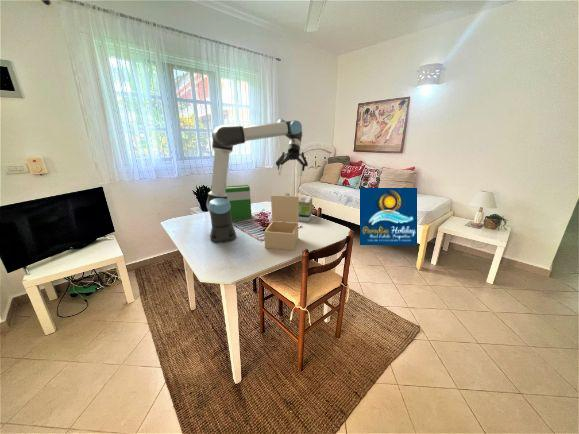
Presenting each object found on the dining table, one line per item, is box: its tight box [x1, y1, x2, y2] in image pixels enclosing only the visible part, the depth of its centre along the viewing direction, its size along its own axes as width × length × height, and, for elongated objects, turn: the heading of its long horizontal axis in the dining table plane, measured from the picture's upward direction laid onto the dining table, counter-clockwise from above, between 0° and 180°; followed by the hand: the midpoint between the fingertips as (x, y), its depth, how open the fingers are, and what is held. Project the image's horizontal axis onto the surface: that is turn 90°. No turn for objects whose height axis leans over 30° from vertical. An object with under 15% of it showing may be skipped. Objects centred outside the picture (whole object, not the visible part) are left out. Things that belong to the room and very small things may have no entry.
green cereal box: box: [226, 184, 253, 222], centre depth 166 cm, size 18×7×24 cm, turn 107°
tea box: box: [299, 196, 313, 223], centre depth 166 cm, size 15×10×15 cm
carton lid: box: [270, 193, 300, 224], centre depth 135 cm, size 16×16×9 cm
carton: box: [263, 220, 299, 251], centre depth 129 cm, size 16×16×10 cm
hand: (289, 174), depth 138 cm, fingers open, 13 cm apart
